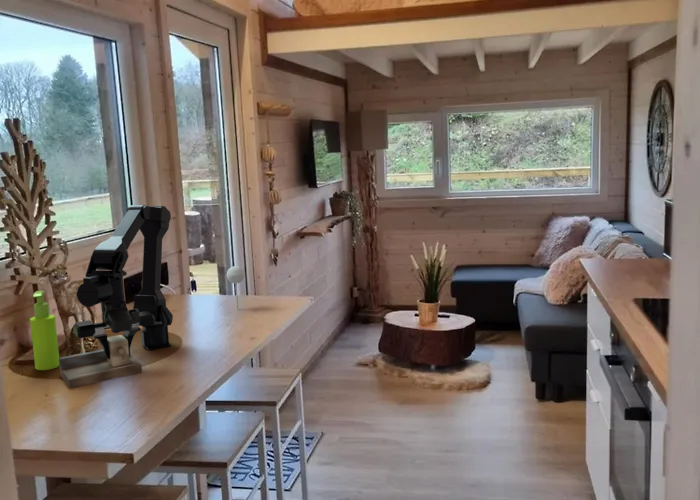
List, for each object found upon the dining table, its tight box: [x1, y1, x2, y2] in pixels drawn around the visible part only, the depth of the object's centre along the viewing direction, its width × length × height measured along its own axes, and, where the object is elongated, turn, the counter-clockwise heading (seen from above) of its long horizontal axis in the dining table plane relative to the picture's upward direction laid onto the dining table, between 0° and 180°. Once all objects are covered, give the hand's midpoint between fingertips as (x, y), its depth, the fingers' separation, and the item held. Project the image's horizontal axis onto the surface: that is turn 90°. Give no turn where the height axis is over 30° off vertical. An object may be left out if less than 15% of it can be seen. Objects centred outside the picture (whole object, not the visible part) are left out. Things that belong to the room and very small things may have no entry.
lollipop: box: [226, 265, 245, 311], centre depth 225 cm, size 6×6×15 cm
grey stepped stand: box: [59, 349, 143, 389], centre depth 166 cm, size 17×11×5 cm, turn 124°
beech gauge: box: [107, 334, 130, 366], centre depth 167 cm, size 4×9×6 cm, turn 33°
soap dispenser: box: [29, 290, 60, 371], centre depth 171 cm, size 6×7×20 cm
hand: (117, 357), depth 169 cm, fingers closed on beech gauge, 4 cm apart
